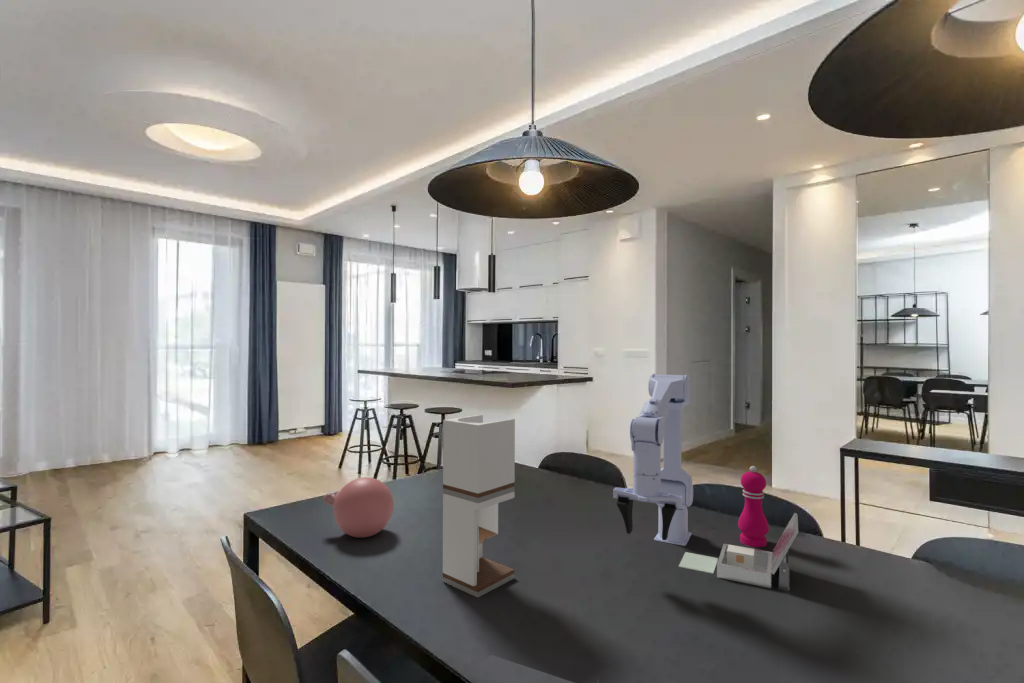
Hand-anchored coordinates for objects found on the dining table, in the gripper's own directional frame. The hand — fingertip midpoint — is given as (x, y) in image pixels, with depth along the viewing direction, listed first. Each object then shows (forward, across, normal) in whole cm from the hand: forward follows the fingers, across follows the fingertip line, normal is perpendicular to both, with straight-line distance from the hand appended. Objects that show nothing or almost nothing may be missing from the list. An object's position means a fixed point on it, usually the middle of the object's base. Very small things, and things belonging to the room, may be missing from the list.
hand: (646, 535), depth 111 cm
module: (+10, +18, +16) cm, 25 cm away
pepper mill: (+10, +19, +35) cm, 41 cm away
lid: (+6, +24, +16) cm, 29 cm away
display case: (+10, -32, -17) cm, 38 cm away
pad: (+10, +8, +15) cm, 20 cm away
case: (+10, +18, +16) cm, 26 cm away
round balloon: (+10, -75, -10) cm, 77 cm away
